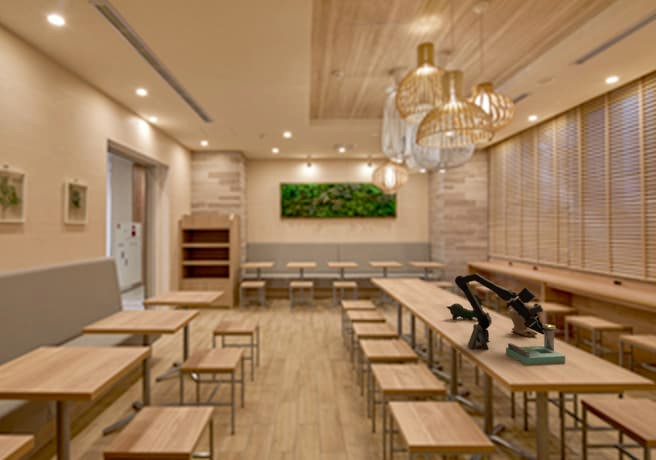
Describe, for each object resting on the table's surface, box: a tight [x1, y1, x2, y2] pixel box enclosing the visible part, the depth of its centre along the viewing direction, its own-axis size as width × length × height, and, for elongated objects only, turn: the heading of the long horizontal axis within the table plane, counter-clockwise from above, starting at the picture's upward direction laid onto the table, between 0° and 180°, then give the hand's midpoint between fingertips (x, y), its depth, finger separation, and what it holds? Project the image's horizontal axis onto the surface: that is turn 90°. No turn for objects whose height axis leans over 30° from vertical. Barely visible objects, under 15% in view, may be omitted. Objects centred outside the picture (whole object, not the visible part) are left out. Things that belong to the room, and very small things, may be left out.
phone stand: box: [467, 323, 490, 351], centre depth 205 cm, size 9×6×12 cm, turn 88°
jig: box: [505, 343, 566, 365], centre depth 189 cm, size 20×16×5 cm
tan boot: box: [509, 308, 538, 337], centre depth 232 cm, size 15×12×15 cm
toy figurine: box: [445, 293, 484, 321], centre depth 270 cm, size 9×19×25 cm
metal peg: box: [542, 323, 557, 351], centre depth 200 cm, size 6×6×13 cm
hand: (544, 332), depth 201 cm, fingers open, 9 cm apart
